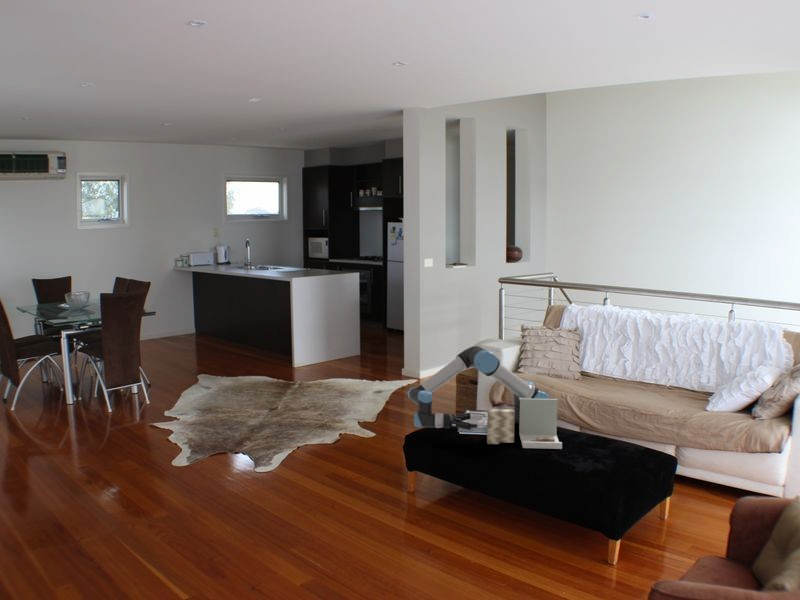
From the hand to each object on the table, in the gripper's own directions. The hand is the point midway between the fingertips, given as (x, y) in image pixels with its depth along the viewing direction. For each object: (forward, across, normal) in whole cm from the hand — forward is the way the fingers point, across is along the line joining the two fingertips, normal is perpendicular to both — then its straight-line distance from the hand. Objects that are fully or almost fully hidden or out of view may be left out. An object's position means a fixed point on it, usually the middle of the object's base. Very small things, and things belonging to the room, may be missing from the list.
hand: (483, 421), depth 381 cm
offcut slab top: (+32, +5, -9) cm, 34 cm away
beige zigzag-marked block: (+9, 0, -12) cm, 15 cm away
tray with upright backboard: (+30, -2, -12) cm, 33 cm away
